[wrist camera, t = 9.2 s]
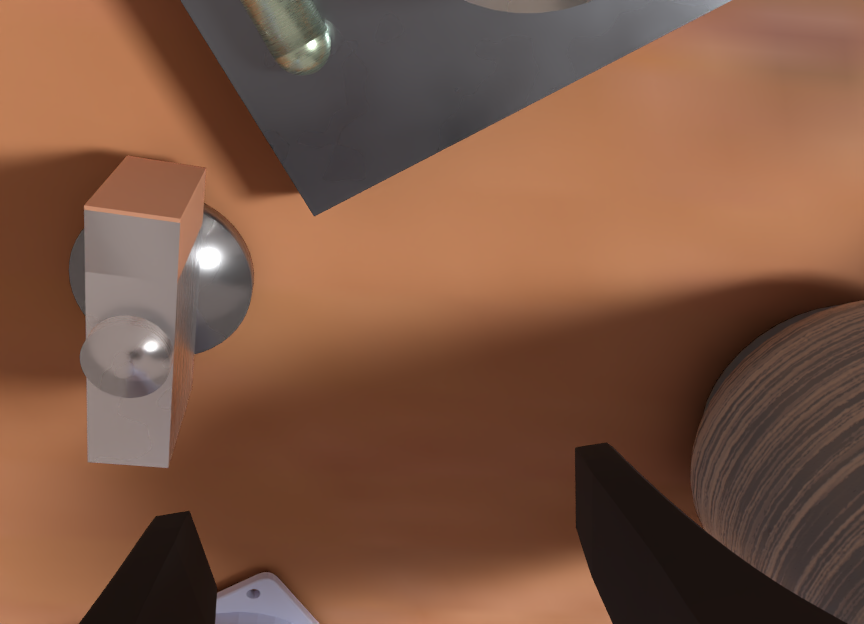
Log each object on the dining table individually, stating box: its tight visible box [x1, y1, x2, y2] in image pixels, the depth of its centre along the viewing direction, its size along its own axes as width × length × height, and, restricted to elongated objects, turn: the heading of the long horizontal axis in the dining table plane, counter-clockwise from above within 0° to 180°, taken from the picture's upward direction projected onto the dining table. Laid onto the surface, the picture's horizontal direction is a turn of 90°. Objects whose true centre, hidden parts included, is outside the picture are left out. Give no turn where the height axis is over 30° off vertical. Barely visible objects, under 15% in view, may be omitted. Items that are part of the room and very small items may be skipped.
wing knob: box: [69, 156, 254, 468], centre depth 19 cm, size 7×5×5 cm
